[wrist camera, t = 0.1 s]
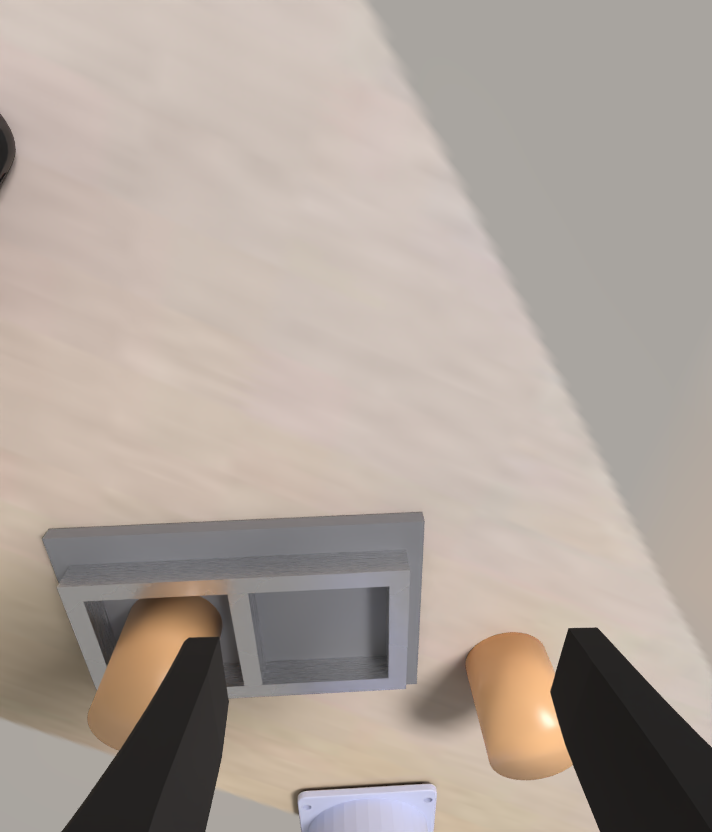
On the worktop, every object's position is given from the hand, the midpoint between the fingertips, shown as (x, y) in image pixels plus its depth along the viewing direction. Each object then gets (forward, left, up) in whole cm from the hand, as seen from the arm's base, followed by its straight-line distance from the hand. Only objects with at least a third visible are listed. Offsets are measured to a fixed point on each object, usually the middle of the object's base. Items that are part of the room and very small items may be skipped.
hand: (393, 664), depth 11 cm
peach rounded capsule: (-13, -7, -10) cm, 18 cm away
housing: (-9, +5, -10) cm, 14 cm away
